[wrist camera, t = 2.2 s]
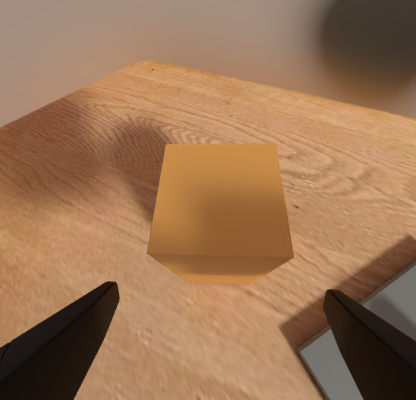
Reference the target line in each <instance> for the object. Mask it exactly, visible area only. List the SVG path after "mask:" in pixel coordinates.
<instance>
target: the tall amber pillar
mask: <svg viewBox="0 0 416 400" xmlns="http://www.w3.org/2000/svg"><path fill="white" fill-rule="evenodd" d="M147 254H148V255H150V256H151V257H153V258H154V259H155V260H157V261H158V262H159V263H161V264H162V265H164V266H165V267H166V268H168V269H169V270H171V271H172V272H173V273H175V274H176V275H177V276H179V277H180V278H182V279H183V280H184V281H186V282H187V283H205V284H234V285H250V284H252V283H253V282H255V281H257V280H258V279H260V278H261V277H263V276H265V275H266V274H268V273H269V272H271V271H273V270H274V269H276V268H277V267H279V266H281V265H282V264H284V263H286V262H287V261H289V260H290V259H292V258H294V255H293V249H292V243H291V236H290V230H289V224H288V217H287V211H286V205H285V198H284V192H283V186H282V179H281V173H280V167H279V160H278V154H277V148H276V144H166V147H165V152H164V158H163V164H162V170H161V175H160V181H159V187H158V193H157V199H156V204H155V210H154V216H153V222H152V227H151V233H150V239H149V245H148V251H147Z"/></svg>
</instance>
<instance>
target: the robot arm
mask: <svg viewBox="0 0 416 400" xmlns="http://www.w3.org/2000/svg"><path fill="white" fill-rule="evenodd" d="M118 303H119V291H118V285H117V283H116V282H111V281H108V282H105V283H103V284H102V285H100V286H99V287H97V288H95V289H94V290H92V291H91V292H89V293H87V294H86V295H84V296H83V297H81V298H79V299H78V300H76V301H75V302H73V303H71V304H70V305H68V306H66V307H65V308H63V309H62V310H60V311H58V312H57V313H55V314H54V315H52V316H50V317H49V318H47V319H46V320H44V321H42V322H41V323H39V324H38V325H36V326H34V327H33V328H31V329H30V330H28V331H26V332H25V333H23V334H22V335H20V336H18V337H17V338H15V339H13V340H12V341H11V342H10V343H7V344H5V345H4V346H2V347H1V348H0V400H74V398H75V396H76V394H77V392H78V390H79V388H80V386H81V384H82V382H83V380H84V378H85V376H86V374H87V372H88V370H89V368H90V366H91V364H92V362H93V360H94V358H95V356H96V354H97V352H98V350H99V348H100V346H101V344H102V342H103V340H104V338H105V336H106V333H107V331H108V328H109V326H110V323H111V321H112V318H113V316H114V313H115V310H116V308H117V305H118ZM323 309H324V312H325V315H326V317H327V320H328V323H329V325H330V328H331V330H332V333H333V336H334V338H335V341H336V343H337V346H338V348H339V351H340V353H341V355H342V357H343V359H344V361H345V363H346V365H347V367H348V369H349V371H350V373H351V376H352V378H353V380H354V382H355V384H356V386H357V388H358V390H359V392H360V394H361V396H362V398H363V400H416V341H415V340H414V339H412V338H411V337H409V336H408V335H406V334H405V333H403V332H402V331H400V330H399V329H397V328H396V327H394V326H392V325H391V324H389V323H388V322H386V321H385V320H383V319H382V318H380V317H379V316H377V315H376V314H374V313H373V312H371V311H370V310H368V309H367V308H365V307H364V306H362V305H361V304H359V303H358V302H356V301H354V300H353V299H351V298H350V297H348V296H347V295H345V294H344V293H342V292H341V291H339V290H335V289H328V290H327V291H326V294H325V299H324V303H323Z"/></svg>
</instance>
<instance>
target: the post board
mask: <svg viewBox="0 0 416 400" xmlns="http://www.w3.org/2000/svg"><path fill="white" fill-rule="evenodd" d="M359 304H361V305H362V306H364V307H365V308H367V309H368V310H370V311H371V312H373V313H374V314H376V315H377V316H379V317H380V318H382V319H383V320H385V321H386V322H388V323H389V324H391V325H392V326H394V327H396V328H397V329H399V330H400V331H402V332H403V333H405V334H406V335H408V336H409V337H411V338H412V339H414V340H415V341H416V260H415V261H414V262H412V263H411V264H410V265H408V266H407V267H406V268H404V269H403V270H402V271H400V272H399V273H398V274H396V275H395V276H393V277H392V278H391V279H389V280H388V281H387V282H385V283H384V284H383V285H381V286H380V287H379V288H377V289H376V290H375V291H373V292H372V293H371V294H369V295H368V296H367V297H365V298H364V299H363V300H361V301H360V302H359ZM296 350H297V352H298V353H299V355H300V357H301V358H302V360H303V362H304V363H305V365H306V366H307V368H308V370H309V371H310V373H311V374H312V376H313V378H314V379H315V381H316V383H317V384H318V386H319V387H320V389H321V391H322V392H323V394H324V395H325V397H326V399H327V400H363V398H362V396H361V394H360V392H359V390H358V388H357V386H356V384H355V382H354V380H353V378H352V376H351V373H350V371H349V369H348V367H347V365H346V363H345V361H344V359H343V357H342V355H341V353H340V351H339V348H338V346H337V343H336V341H335V338H334V336H333V333H332V330H331V328H330V325H328V326H326V327H325V328H324V329H322V330H321V331H320V332H318V333H317V334H315V335H314V336H313V337H311V338H310V339H309V340H307V341H306V342H305V343H303V344H302V345H301V346H299V347H298V348H297V349H296Z"/></svg>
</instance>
